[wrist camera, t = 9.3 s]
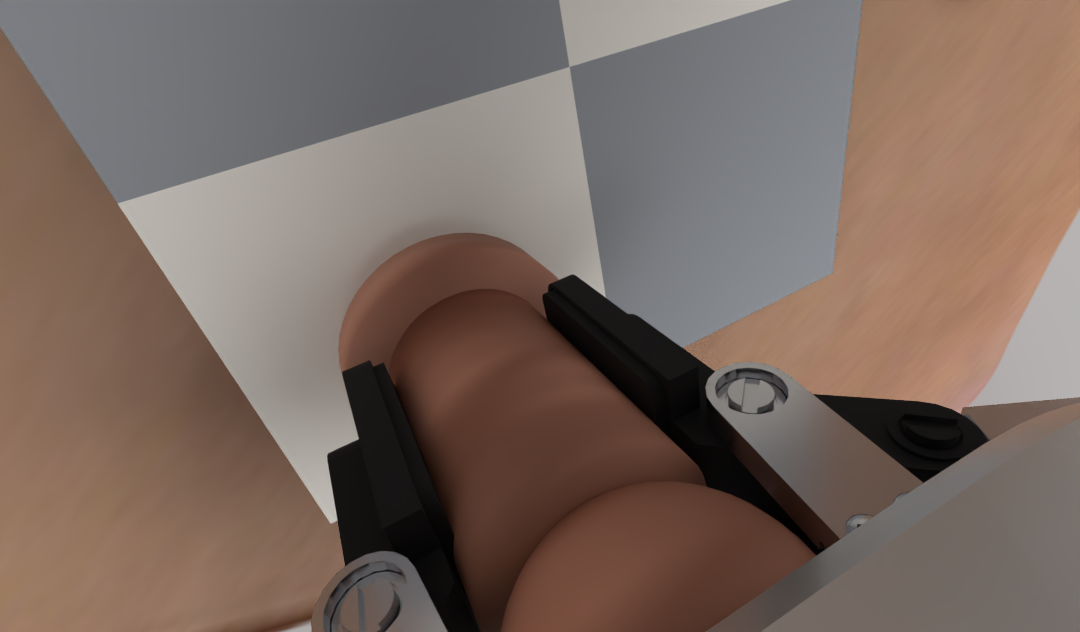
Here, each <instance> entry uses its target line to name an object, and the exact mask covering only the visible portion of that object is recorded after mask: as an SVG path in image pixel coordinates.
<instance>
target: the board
mask: <svg viewBox="0 0 1080 632" xmlns="http://www.w3.org/2000/svg"><path fill="white" fill-rule="evenodd" d="M861 9H862V0H0V28H1V29H2V31H3V32H4V34H5V35H6V37H7V38H8V40H9V41H10V43H11V44H12V46H13V47H14V49H15V50H16V52H17V53H18V55H19V56H20V58H21V59H22V61H23V62H24V64H25V65H26V67H27V68H28V70H29V71H30V73H31V74H32V76H33V77H34V79H35V80H36V82H37V83H38V85H39V86H40V88H41V89H42V91H43V92H44V94H45V95H46V97H47V98H48V100H49V101H50V103H51V104H52V106H53V107H54V109H55V110H56V112H57V113H58V115H59V116H60V118H61V119H62V121H63V122H64V124H65V125H66V127H67V128H68V130H69V131H70V133H71V134H72V136H73V137H74V139H75V140H76V142H77V143H78V145H79V146H80V148H81V149H82V151H83V152H84V154H85V155H86V157H87V158H88V160H89V161H90V163H91V164H92V166H93V167H94V169H95V170H96V172H97V173H98V175H99V176H100V178H101V179H102V181H103V182H104V184H105V185H106V187H107V188H108V190H109V191H110V193H111V194H112V196H113V198H114V199H115V201H116V202H117V204H118V205H119V207H120V208H121V210H122V211H123V213H124V214H125V216H126V217H127V219H128V220H129V222H130V223H131V225H132V226H133V228H134V229H135V231H136V232H137V234H138V235H139V237H140V238H141V240H142V241H143V243H144V244H145V246H146V247H147V249H148V250H149V252H150V253H151V255H152V256H153V258H154V259H155V261H156V262H157V264H158V265H159V267H160V268H161V270H162V271H163V273H164V274H165V276H166V277H167V279H168V280H169V282H170V283H171V285H172V286H173V288H174V289H175V291H176V292H177V294H178V295H179V297H180V298H181V300H182V301H183V303H184V304H185V306H186V307H187V309H188V310H189V312H190V313H191V315H192V316H193V318H194V319H195V321H196V322H197V324H198V325H199V327H200V328H201V330H202V331H203V333H204V334H205V336H206V337H207V339H208V340H209V342H210V343H211V345H212V346H213V348H214V349H215V351H216V352H217V354H218V355H219V357H220V358H221V360H222V361H223V363H224V364H225V366H226V367H227V369H228V370H229V372H230V373H231V375H232V376H233V378H234V379H235V381H236V382H237V384H238V385H239V387H240V388H241V390H242V391H243V393H244V394H245V396H246V397H247V399H248V400H249V402H250V403H251V405H252V406H253V408H254V409H255V411H256V412H257V414H258V415H259V417H260V418H261V420H262V421H263V423H264V424H265V426H266V427H267V429H268V430H269V432H270V433H271V435H272V436H273V438H274V439H275V441H276V442H277V444H278V445H279V447H280V448H281V450H282V451H283V453H284V454H285V456H286V457H287V459H288V460H289V462H290V463H291V465H292V466H293V468H294V469H295V471H296V472H297V474H298V475H299V477H300V478H301V480H302V481H303V483H304V484H305V486H306V487H307V489H308V490H309V492H310V493H311V495H312V496H313V498H314V499H315V501H316V502H317V504H318V505H319V507H320V508H321V510H322V511H323V513H324V514H325V516H326V517H327V519H328V520H329V522H330V523H333V522H335V521H337V514H336V509H335V503H334V497H333V491H332V485H331V479H330V473H329V467H328V461H327V455H328V453H330V452H332V451H334V450H336V449H338V448H341V447H343V446H345V445H347V444H349V443H351V442H353V441H356V440H358V439H359V438H358V434H357V430H356V426H355V422H354V418H353V415H352V411H351V408H350V404H349V400H348V396H347V392H346V388H345V385H344V381H343V377H342V373H341V368H340V364H339V352H338V347H339V335H340V331H341V327H342V323H343V319H344V317H345V314H346V312H347V309H348V307H349V305H350V303H351V301H352V299H353V298H354V296H355V294H356V292H357V291H358V290H359V288H360V287H361V286H362V284H363V283H364V282H365V280H366V279H367V278H368V277H369V276H370V275H371V274H372V273H373V272H374V271H375V270H376V269H377V268H378V267H379V266H380V265H381V264H383V263H384V262H385V261H387V260H388V259H389V258H390V257H392V256H393V255H395V254H396V253H398V252H400V251H401V250H403V249H405V248H406V247H409V246H411V245H413V244H415V243H418V242H420V241H422V240H426V239H429V238H432V237H436V236H440V235H446V234H452V233H478V234H486V235H490V236H494V237H498V238H501V239H503V240H506V241H508V242H511V243H512V244H514V245H516V246H517V247H519V248H521V249H522V250H524V251H525V252H526V253H528V254H529V255H530V256H531V257H533V258H534V259H535V260H536V261H538V262H539V263H540V264H541V265H543V266H544V267H545V268H547V269H548V270H549V271H550V272H551V273H553V274H554V275H555V276H556V277H557V278H558V279H559V280H560V279H562V278H565V277H567V276H569V275H572V274H574V275H576V276H577V277H579V278H580V279H581V280H583V281H584V282H585V283H587V284H588V285H589V286H591V287H592V288H593V289H595V290H596V291H597V292H599V293H600V294H602V295H603V296H604V297H606V298H607V299H608V300H610V301H611V302H612V303H614V304H615V305H616V306H618V307H619V308H620V309H622V310H623V311H624V312H626V313H627V314H635V315H637V316H639V317H640V318H642V319H643V320H644V321H646V322H647V323H649V324H650V325H651V326H653V327H654V328H656V329H657V330H658V331H660V332H661V333H662V334H664V335H665V336H667V337H668V338H669V339H671V340H672V341H673V342H675V343H676V344H678V345H679V346H680V347H682V348H684V347H686V346H688V345H690V344H692V343H694V342H696V341H698V340H700V339H702V338H704V337H706V336H708V335H710V334H712V333H714V332H716V331H718V330H720V329H722V328H724V327H726V326H728V325H730V324H732V323H734V322H736V321H738V320H740V319H742V318H744V317H746V316H748V315H750V314H752V313H754V312H756V311H758V310H760V309H762V308H764V307H766V306H768V305H770V304H772V303H774V302H776V301H778V300H780V299H782V298H784V297H786V296H788V295H790V294H792V293H794V292H796V291H798V290H800V289H802V288H804V287H806V286H808V285H810V284H812V283H814V282H816V281H818V280H820V279H822V278H824V277H826V276H828V275H830V274H832V273H833V265H834V256H835V247H836V237H837V228H838V219H839V210H840V201H841V192H842V183H843V174H844V164H845V155H846V146H847V137H848V128H849V119H850V110H851V101H852V91H853V82H854V73H855V64H856V55H857V46H858V37H859V27H860V18H861Z"/></svg>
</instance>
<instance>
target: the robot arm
mask: <svg viewBox="0 0 1080 632" xmlns="http://www.w3.org/2000/svg"><path fill="white" fill-rule="evenodd" d="M542 300H543V304H544V309H545V313H546V317H547V320H548V321H549V322H550V323H551V324H552V325H553V326H554V327H555V328H556V329H557V330H558V331H559V332H560V333H561V334H562V335H563V336H564V337H565V338H566V339H567V340H568V341H569V342H570V343H571V344H573V345H574V346H575V347H576V348H577V349H578V350H579V351H580V352H581V353H582V354H583V355H584V356H585V357H586V358H587V359H588V360H589V361H590V362H591V363H592V364H593V365H594V366H595V367H596V368H597V369H598V370H599V371H601V372H602V373H603V374H604V375H605V376H606V377H607V378H608V379H609V380H610V381H611V382H612V383H613V384H614V385H615V386H616V387H617V388H618V389H619V390H620V391H621V392H622V393H623V394H624V395H625V396H626V397H627V398H628V399H630V400H631V401H632V402H633V403H634V404H635V405H636V406H637V407H638V408H639V409H640V410H641V411H642V412H643V413H644V414H645V415H646V416H647V417H648V418H649V419H650V420H651V421H652V422H653V423H654V424H655V425H656V426H658V427H659V428H660V429H661V430H662V431H663V432H664V433H665V434H666V435H667V436H668V437H669V438H670V439H671V440H672V441H673V442H674V443H675V444H676V445H677V446H678V447H679V448H680V449H681V450H682V451H683V452H684V453H686V454H687V455H688V456H689V457H690V458H691V459H692V460H693V461H694V462H695V463H696V464H697V465H698V467H699V468H700V470H701V472H702V473H703V476H704V479H705V482H706V487H709V488H712V489H716V490H719V491H722V492H725V493H728V494H731V495H733V496H735V497H737V498H740V499H742V500H744V501H746V502H748V503H750V504H752V505H754V506H755V507H757V508H759V509H760V510H762V511H763V512H765V513H766V514H768V515H770V516H771V517H773V518H774V519H776V520H778V521H779V522H780V523H782V524H783V525H784V526H785V527H787V528H788V529H789V530H790V531H791V532H793V533H794V534H795V535H796V536H798V537H799V538H800V539H801V540H802V541H803V542H804V543H805V544H806V545H807V546H808V548H809V549H810V550H811V551H812V552H813V553H814V554H815V555H816V556H815V557H814V558H812V559H811V560H809V561H808V562H806V563H805V564H804V565H802V566H801V567H799V568H798V569H796V570H795V571H793V572H792V573H790V574H789V575H788V576H786V577H785V578H783V579H782V580H780V581H779V582H777V583H776V584H774V585H773V586H771V587H770V588H769V589H767V590H766V591H764V592H763V593H761V594H760V595H758V596H757V597H755V598H754V599H753V600H751V601H750V602H748V603H747V604H745V605H744V606H742V607H741V608H739V609H738V610H736V611H735V612H734V613H732V614H731V615H729V616H728V617H726V618H725V619H723V620H722V621H720V622H719V623H718V624H716V625H715V626H713V627H712V628H710V629H709V630H707V631H706V632H1080V397H1079V398H1067V399H1056V400H1044V401H1032V402H1021V403H1010V404H998V405H986V406H974V407H963V409H962V412H961V414H960V413H958V412H956V411H954V410H952V409H949V408H946V407H943V406H940V405H937V404H932V403H925V402H919V401H904V400H890V399H875V398H861V397H846V396H832V395H817V394H812V393H811V392H809V391H808V390H807V389H806V388H804V387H803V386H802V385H801V384H799V383H798V382H797V381H796V380H794V379H793V378H792V377H791V376H789V375H788V374H786V373H785V372H783V371H781V370H780V369H778V368H776V367H773V366H770V365H767V364H762V363H755V362H742V363H734V364H731V365H727V366H724V367H722V368H720V369H719V370H717V371H713V370H712V369H711V368H709V367H708V366H707V365H705V364H704V363H702V362H701V361H700V360H698V359H697V358H695V357H694V356H693V355H691V354H690V353H689V352H687V351H686V350H684V349H683V348H682V347H680V346H679V345H678V344H676V343H675V342H673V341H672V340H671V339H669V338H668V337H667V336H665V335H664V334H662V333H661V332H660V331H658V330H657V329H656V328H654V327H653V326H651V325H650V324H649V323H647V322H646V321H644V320H643V319H642V318H640V317H639V316H637V315H635V314H627V313H626V312H624V311H623V310H622V309H620V308H619V307H618V306H616V305H615V304H614V303H612V302H611V301H610V300H608V299H607V298H606V297H604V296H603V295H602V294H600V293H599V292H597V291H596V290H595V289H593V288H592V287H591V286H589V285H588V284H587V283H585V282H584V281H583V280H581V279H580V278H579V277H577V276H576V275H574V274H572V275H569V276H567V277H565V278H562V279H560V280H557V281H555V282H553V283H550V284H549V285H548V292H546V293H544V294H543V295H542ZM342 376H343V380H344V383H345V387H346V391H347V395H348V399H349V403H350V407H351V411H352V415H353V418H354V422H355V426H356V430H357V434H358V438H359V439H358V440H356V441H353V442H351V443H349V444H347V445H345V446H343V447H341V448H338V449H336V450H334V451H332V452H330V453H328V455H327V461H328V467H329V473H330V479H331V485H332V491H333V497H334V503H335V509H336V514H337V520H338V526H339V532H340V538H341V544H342V550H343V556H344V562H345V567H344V568H343V569H342V570H340V571H339V572H338V573H337V574H336V575H335V576H334V577H333V578H332V580H331V581H330V582H329V583H328V584H327V585H326V587H325V588H324V589H323V591H322V593H321V595H320V597H319V599H318V601H317V603H316V605H315V608H314V612H313V616H312V620H311V627H312V632H481V630H480V628H479V626H478V623H477V621H476V618H475V615H474V613H473V610H472V607H471V605H470V602H469V599H468V597H467V594H466V592H465V589H464V586H463V584H462V581H461V578H460V576H459V573H458V570H457V568H456V565H455V560H454V553H453V547H454V533H453V531H452V528H451V526H450V523H449V521H448V518H447V516H446V513H445V511H444V508H443V506H442V503H441V501H440V498H439V496H438V493H437V491H436V488H435V486H434V483H433V481H432V478H431V476H430V473H429V471H428V468H427V466H426V463H425V461H424V458H423V456H422V453H421V451H420V448H419V446H418V443H417V441H416V438H415V436H414V433H413V431H412V428H411V426H410V423H409V421H408V418H407V416H406V413H405V411H404V408H403V406H402V403H401V401H400V398H399V396H398V393H397V391H396V388H395V386H394V384H393V382H392V380H391V377H390V375H389V373H388V371H387V369H386V367H385V365H384V363H381V364H378V365H376V366H374V367H373V365H372V363H371V361H370V360H369V361H366V362H364V363H362V364H359V365H357V366H354V367H352V368H350V369H347V370H345V371H343V372H342Z"/></svg>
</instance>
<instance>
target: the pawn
mask: <svg viewBox="0 0 1080 632" xmlns="http://www.w3.org/2000/svg"><path fill="white" fill-rule="evenodd" d="M557 280H559V279H558V278H557V277H556V276H555V275H554V274H553V273H551V272H550V271H549V270H548V269H547V268H545V267H544V266H543V265H541V264H540V263H539V262H538V261H536V260H535V259H534V258H533V257H531V256H530V255H529V254H528V253H526V252H525V251H524V250H522V249H521V248H519V247H517V246H516V245H514V244H512V243H511V242H508V241H506V240H503V239H501V238H498V237H494V236H490V235H486V234H478V233H452V234H446V235H440V236H436V237H432V238H429V239H426V240H422V241H420V242H418V243H415V244H413V245H411V246H409V247H406V248H405V249H403V250H401V251H400V252H398V253H396V254H395V255H393V256H392V257H390V258H389V259H388V260H387V261H385V262H384V263H383V264H381V265H380V266H379V267H378V268H377V269H376V270H375V271H374V272H373V273H372V274H371V275H370V276H369V277H368V278H367V279H366V280H365V282H364V283H363V284H362V286H361V287H360V288H359V290H358V291H357V292H356V294H355V296H354V298H353V299H352V301H351V303H350V305H349V307H348V309H347V312H346V314H345V317H344V319H343V323H342V327H341V331H340V335H339V347H338V352H339V364H340V368H341V373H342V372H343V371H345V370H347V369H350V368H352V367H354V366H357V365H359V364H362V363H364V362H366V361H369V360H370V361H371V363H372V365H373V367H374V366H376V365H378V364H381V363H384V365H385V367H386V369H387V371H388V373H389V375H390V377H391V380H392V382H393V384H394V386H395V388H396V391H397V393H398V396H399V398H400V401H401V403H402V406H403V408H404V411H405V413H406V416H407V418H408V421H409V423H410V426H411V428H412V431H413V433H414V436H415V438H416V441H417V443H418V446H419V448H420V451H421V453H422V456H423V458H424V461H425V463H426V466H427V468H428V471H429V473H430V476H431V478H432V481H433V483H434V486H435V488H436V491H437V493H438V496H439V498H440V501H441V503H442V506H443V508H444V511H445V513H446V516H447V518H448V521H449V523H450V526H451V528H452V531H453V533H454V547H453V553H454V560H455V565H456V568H457V570H458V573H459V576H460V578H461V581H462V584H463V586H464V589H465V592H466V594H467V597H468V599H469V602H470V605H471V607H472V610H473V613H474V615H475V618H476V621H477V623H478V626H479V628H480V630H481V632H706V631H707V630H709V629H710V628H712V627H713V626H715V625H716V624H718V623H719V622H720V621H722V620H723V619H725V618H726V617H728V616H729V615H731V614H732V613H734V612H735V611H736V610H738V609H739V608H741V607H742V606H744V605H745V604H747V603H748V602H750V601H751V600H753V599H754V598H755V597H757V596H758V595H760V594H761V593H763V592H764V591H766V590H767V589H769V588H770V587H771V586H773V585H774V584H776V583H777V582H779V581H780V580H782V579H783V578H785V577H786V576H788V575H789V574H790V573H792V572H793V571H795V570H796V569H798V568H799V567H801V566H802V565H804V564H805V563H806V562H808V561H809V560H811V559H812V558H814V557H815V556H816V555H815V554H814V553H813V552H812V551H811V550H810V549H809V548H808V546H807V545H806V544H805V543H804V542H803V541H802V540H801V539H800V538H799V537H798V536H796V535H795V534H794V533H793V532H791V531H790V530H789V529H788V528H787V527H785V526H784V525H783V524H782V523H780V522H779V521H778V520H776V519H774V518H773V517H771V516H770V515H768V514H766V513H765V512H763V511H762V510H760V509H759V508H757V507H755V506H754V505H752V504H750V503H748V502H746V501H744V500H742V499H740V498H737V497H735V496H733V495H731V494H728V493H725V492H722V491H719V490H716V489H712V488H709V487H706V482H705V479H704V476H703V473H702V472H701V470H700V468H699V467H698V465H697V464H696V463H695V462H694V461H693V460H692V459H691V458H690V457H689V456H688V455H687V454H686V453H684V452H683V451H682V450H681V449H680V448H679V447H678V446H677V445H676V444H675V443H674V442H673V441H672V440H671V439H670V438H669V437H668V436H667V435H666V434H665V433H664V432H663V431H662V430H661V429H660V428H659V427H658V426H656V425H655V424H654V423H653V422H652V421H651V420H650V419H649V418H648V417H647V416H646V415H645V414H644V413H643V412H642V411H641V410H640V409H639V408H638V407H637V406H636V405H635V404H634V403H633V402H632V401H631V400H630V399H628V398H627V397H626V396H625V395H624V394H623V393H622V392H621V391H620V390H619V389H618V388H617V387H616V386H615V385H614V384H613V383H612V382H611V381H610V380H609V379H608V378H607V377H606V376H605V375H604V374H603V373H602V372H601V371H599V370H598V369H597V368H596V367H595V366H594V365H593V364H592V363H591V362H590V361H589V360H588V359H587V358H586V357H585V356H584V355H583V354H582V353H581V352H580V351H579V350H578V349H577V348H576V347H575V346H574V345H573V344H571V343H570V342H569V341H568V340H567V339H566V338H565V337H564V336H563V335H562V334H561V333H560V332H559V331H558V330H557V329H556V328H555V327H554V326H553V325H552V324H551V323H550V322H549V321H548V320H547V317H546V313H545V309H544V304H543V300H542V295H543V294H544V293H546V292H548V285H549V284H550V283H553V282H555V281H557ZM342 377H343V376H342ZM343 381H344V380H343ZM344 385H345V383H344ZM345 388H346V387H345ZM346 392H347V391H346ZM347 396H348V395H347ZM348 400H349V399H348ZM349 404H350V403H349ZM350 408H351V407H350Z"/></svg>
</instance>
